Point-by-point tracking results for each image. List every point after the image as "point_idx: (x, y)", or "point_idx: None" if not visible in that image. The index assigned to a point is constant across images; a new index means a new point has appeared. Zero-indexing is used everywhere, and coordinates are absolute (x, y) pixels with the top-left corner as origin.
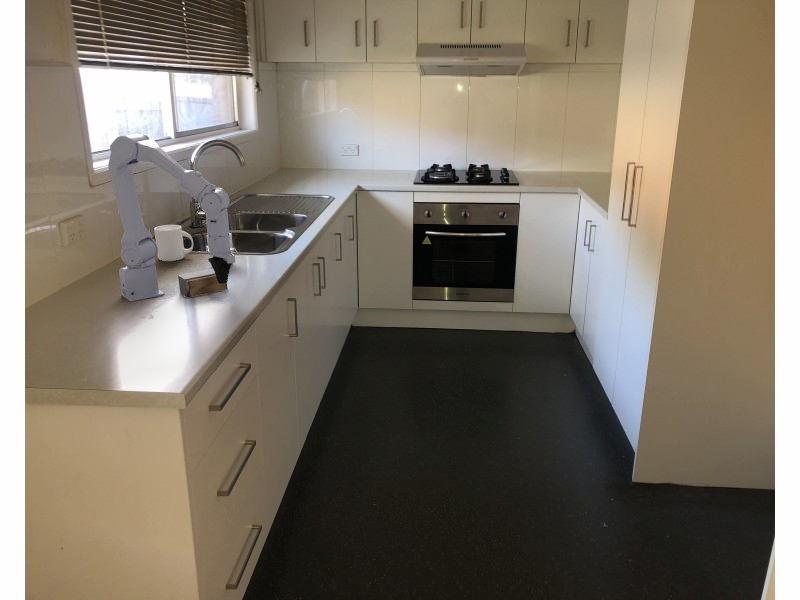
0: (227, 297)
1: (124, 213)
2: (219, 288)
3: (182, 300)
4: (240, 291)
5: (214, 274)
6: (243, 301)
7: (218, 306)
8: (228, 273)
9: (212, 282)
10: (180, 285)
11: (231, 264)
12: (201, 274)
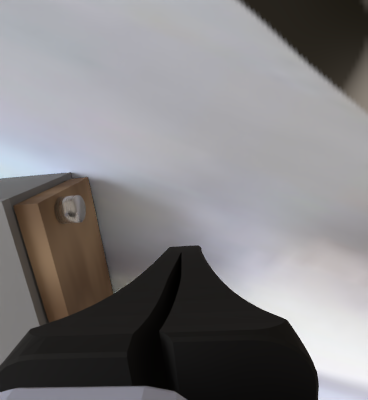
0: (198, 215)
1: None
2: (92, 224)
3: None
4: (140, 126)
5: (29, 276)
6: (309, 173)
7: (296, 288)
8: (212, 271)
9: (81, 276)
10: None
11: (256, 307)
12: (15, 345)
